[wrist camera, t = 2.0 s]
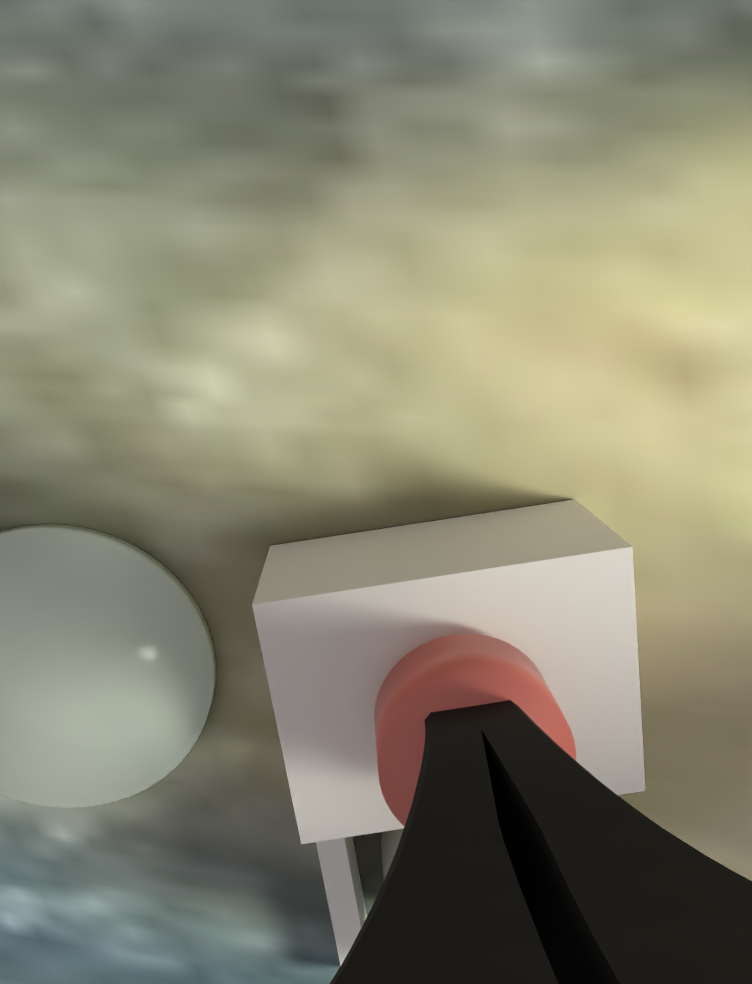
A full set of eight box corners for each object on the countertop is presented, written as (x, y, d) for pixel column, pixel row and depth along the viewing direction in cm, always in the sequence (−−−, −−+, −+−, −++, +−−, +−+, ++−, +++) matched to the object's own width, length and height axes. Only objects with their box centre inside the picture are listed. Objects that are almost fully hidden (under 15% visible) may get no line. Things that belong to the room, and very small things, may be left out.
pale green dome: (241, 772, 16) (239, 783, 16) (-40, 815, 16) (-50, 828, 15) (181, 501, 14) (176, 507, 14) (-133, 549, 14) (-146, 556, 14)
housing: (606, 929, 18) (659, 1052, 15) (352, 969, 17) (354, 1100, 15) (574, 499, 15) (632, 546, 12) (270, 546, 15) (251, 604, 12)
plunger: (522, 702, 15) (582, 833, 11) (380, 724, 15) (392, 863, 11) (508, 569, 14) (569, 662, 10) (358, 591, 14) (364, 693, 10)
